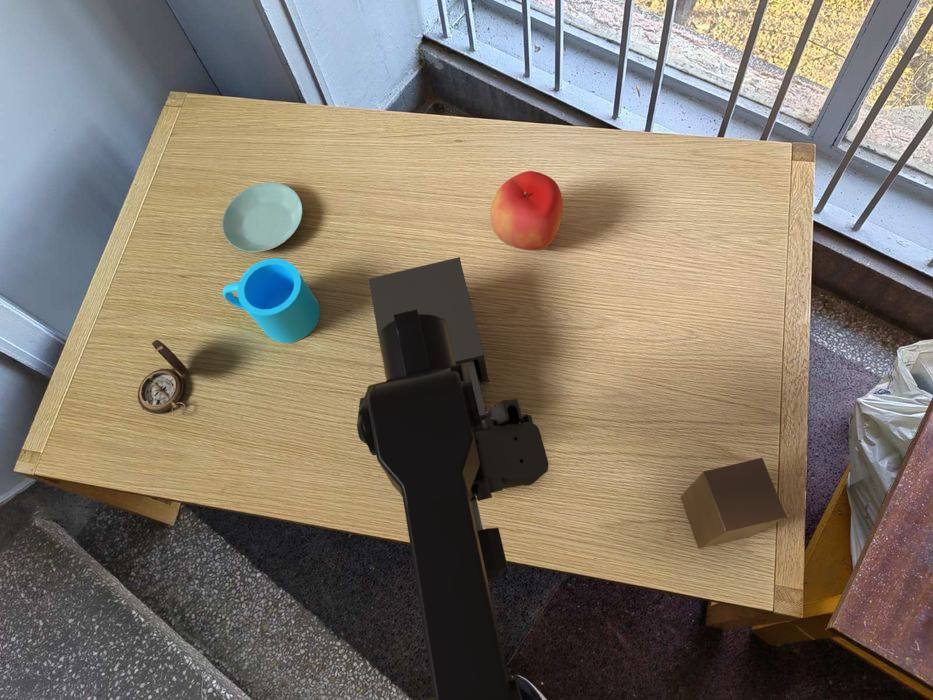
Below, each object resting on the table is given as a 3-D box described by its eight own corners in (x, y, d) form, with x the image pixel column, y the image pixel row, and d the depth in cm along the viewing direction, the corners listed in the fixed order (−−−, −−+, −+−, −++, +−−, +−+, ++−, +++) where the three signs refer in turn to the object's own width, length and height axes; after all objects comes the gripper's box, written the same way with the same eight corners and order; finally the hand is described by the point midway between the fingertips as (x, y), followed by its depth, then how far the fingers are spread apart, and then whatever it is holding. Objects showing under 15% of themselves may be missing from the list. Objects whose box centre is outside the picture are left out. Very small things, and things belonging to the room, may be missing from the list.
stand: (750, 536, 76) (786, 517, 65) (698, 548, 76) (725, 531, 65) (730, 484, 78) (762, 457, 67) (680, 496, 78) (703, 471, 67)
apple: (524, 195, 97) (523, 148, 88) (577, 230, 94) (581, 185, 85) (479, 239, 95) (473, 196, 86) (531, 277, 92) (531, 236, 83)
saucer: (226, 265, 97) (219, 256, 95) (229, 197, 102) (223, 188, 100) (307, 253, 97) (302, 245, 95) (306, 186, 101) (302, 176, 99)
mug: (326, 292, 94) (308, 261, 86) (311, 346, 91) (290, 319, 83) (245, 283, 96) (220, 252, 88) (227, 335, 92) (200, 308, 85)
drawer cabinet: (488, 381, 86) (483, 354, 78) (399, 402, 86) (385, 378, 78) (466, 290, 92) (459, 256, 84) (382, 310, 92) (367, 278, 84)
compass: (131, 396, 90) (99, 375, 84) (177, 353, 92) (149, 330, 85) (167, 433, 87) (136, 415, 81) (213, 389, 89) (188, 368, 83)
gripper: (570, 549, 51) (563, 572, 65) (511, 330, 59) (516, 394, 73) (425, 583, 51) (449, 599, 65) (385, 360, 59) (414, 418, 73)
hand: (461, 496), depth 69 cm, fingers open, 9 cm apart
